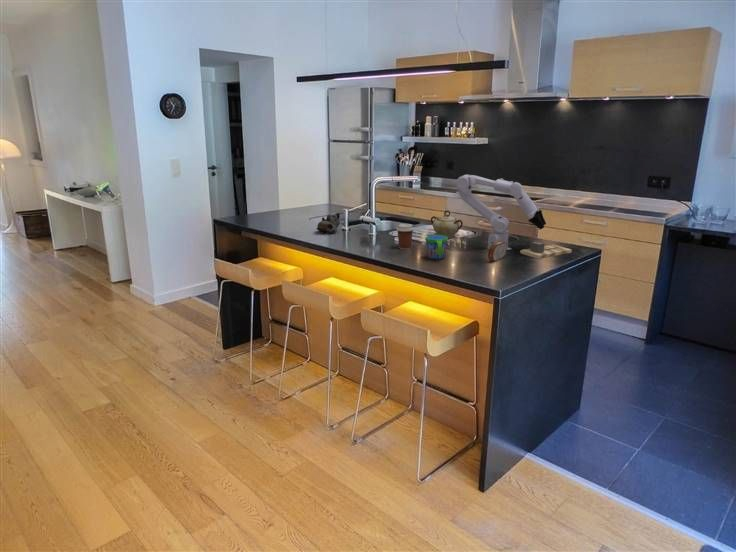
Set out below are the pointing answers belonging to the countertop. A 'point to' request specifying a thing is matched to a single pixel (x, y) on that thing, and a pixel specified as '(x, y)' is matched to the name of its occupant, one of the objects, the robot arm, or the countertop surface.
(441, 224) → the sugar bowl
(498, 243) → the tin
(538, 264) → the countertop surface
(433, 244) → the snack cup
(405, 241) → the coffee cup
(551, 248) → the fader board
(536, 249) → the fader knob
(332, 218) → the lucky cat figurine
